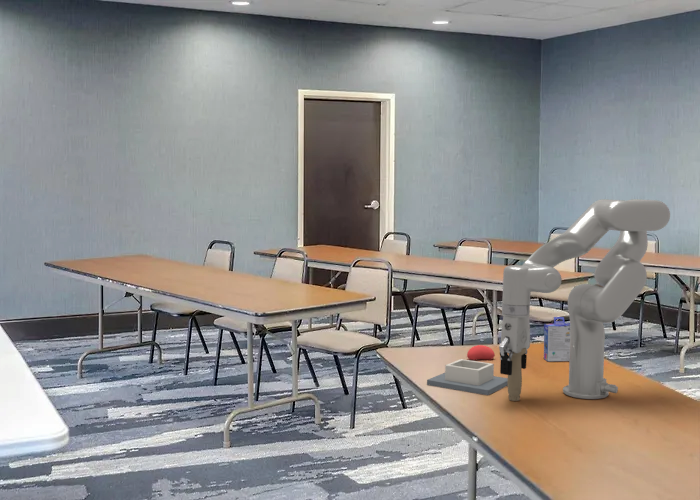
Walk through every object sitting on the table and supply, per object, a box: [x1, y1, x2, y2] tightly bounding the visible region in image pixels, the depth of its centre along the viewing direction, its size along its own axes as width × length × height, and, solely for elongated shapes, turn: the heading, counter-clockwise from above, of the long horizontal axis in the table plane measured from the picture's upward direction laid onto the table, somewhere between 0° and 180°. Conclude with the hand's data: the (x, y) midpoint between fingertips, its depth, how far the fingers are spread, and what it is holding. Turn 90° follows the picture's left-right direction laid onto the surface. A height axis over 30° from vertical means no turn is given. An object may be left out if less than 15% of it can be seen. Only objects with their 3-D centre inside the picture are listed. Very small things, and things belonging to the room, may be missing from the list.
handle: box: [506, 348, 526, 402], centre depth 227 cm, size 5×6×15 cm
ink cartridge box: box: [543, 316, 570, 362], centre depth 277 cm, size 10×6×14 cm, turn 94°
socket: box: [426, 358, 508, 396], centre depth 245 cm, size 20×16×6 cm
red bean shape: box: [466, 344, 496, 361], centre depth 278 cm, size 5×9×6 cm
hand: (513, 371), depth 227 cm, fingers open, 9 cm apart
